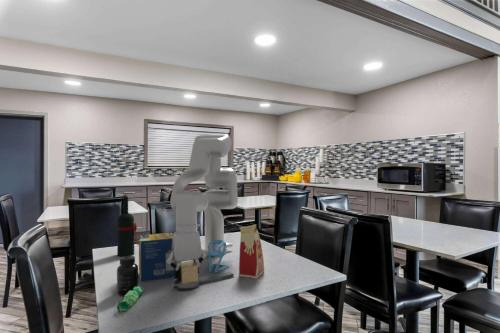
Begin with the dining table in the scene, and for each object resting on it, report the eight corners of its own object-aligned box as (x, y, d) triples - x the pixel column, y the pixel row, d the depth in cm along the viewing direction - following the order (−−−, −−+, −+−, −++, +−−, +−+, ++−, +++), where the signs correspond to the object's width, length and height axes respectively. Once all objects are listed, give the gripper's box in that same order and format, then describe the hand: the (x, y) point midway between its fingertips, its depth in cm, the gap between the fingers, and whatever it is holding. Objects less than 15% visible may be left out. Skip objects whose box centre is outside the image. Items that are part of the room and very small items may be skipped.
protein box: (138, 273, 122) (138, 235, 122) (176, 268, 128) (176, 231, 128) (140, 282, 112) (139, 241, 112) (181, 276, 118) (181, 237, 118)
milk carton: (264, 270, 123) (264, 222, 124) (257, 278, 115) (257, 226, 115) (243, 268, 126) (243, 221, 126) (235, 276, 118) (235, 225, 118)
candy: (131, 309, 89) (123, 298, 89) (121, 315, 89) (114, 304, 89) (145, 292, 101) (138, 282, 101) (137, 298, 101) (130, 288, 101)
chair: (204, 271, 123) (203, 242, 123) (213, 265, 131) (213, 237, 131) (220, 273, 121) (220, 243, 121) (229, 267, 128) (229, 239, 128)
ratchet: (226, 272, 122) (226, 256, 122) (237, 279, 114) (237, 262, 114) (170, 284, 110) (170, 267, 110) (179, 293, 102) (179, 274, 102)
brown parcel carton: (191, 276, 112) (191, 260, 112) (197, 281, 107) (197, 265, 107) (176, 280, 109) (176, 263, 109) (181, 285, 104) (181, 268, 104)
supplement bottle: (120, 288, 106) (120, 254, 106) (140, 287, 107) (140, 254, 107) (113, 296, 99) (113, 260, 99) (135, 295, 100) (134, 260, 100)
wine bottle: (136, 256, 145) (135, 194, 145) (114, 257, 144) (114, 195, 144) (141, 252, 152) (141, 193, 153) (121, 252, 152) (120, 193, 152)
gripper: (204, 224, 116) (204, 270, 116) (159, 229, 107) (160, 280, 107) (212, 227, 110) (213, 276, 110) (166, 233, 101) (166, 287, 100)
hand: (186, 277), depth 108 cm, fingers closed on brown parcel carton, 6 cm apart
